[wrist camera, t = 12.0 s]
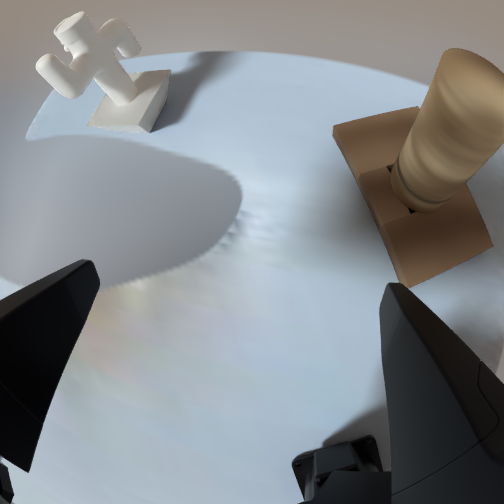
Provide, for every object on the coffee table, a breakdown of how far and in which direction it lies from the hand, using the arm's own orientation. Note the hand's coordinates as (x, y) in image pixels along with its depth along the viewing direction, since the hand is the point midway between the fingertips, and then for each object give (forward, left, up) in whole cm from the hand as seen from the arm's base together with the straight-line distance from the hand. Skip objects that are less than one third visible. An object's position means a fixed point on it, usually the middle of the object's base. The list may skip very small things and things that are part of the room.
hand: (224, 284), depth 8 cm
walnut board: (+5, -14, -13) cm, 20 cm away
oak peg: (+5, -14, -13) cm, 20 cm away
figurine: (+23, +7, -14) cm, 27 cm away
